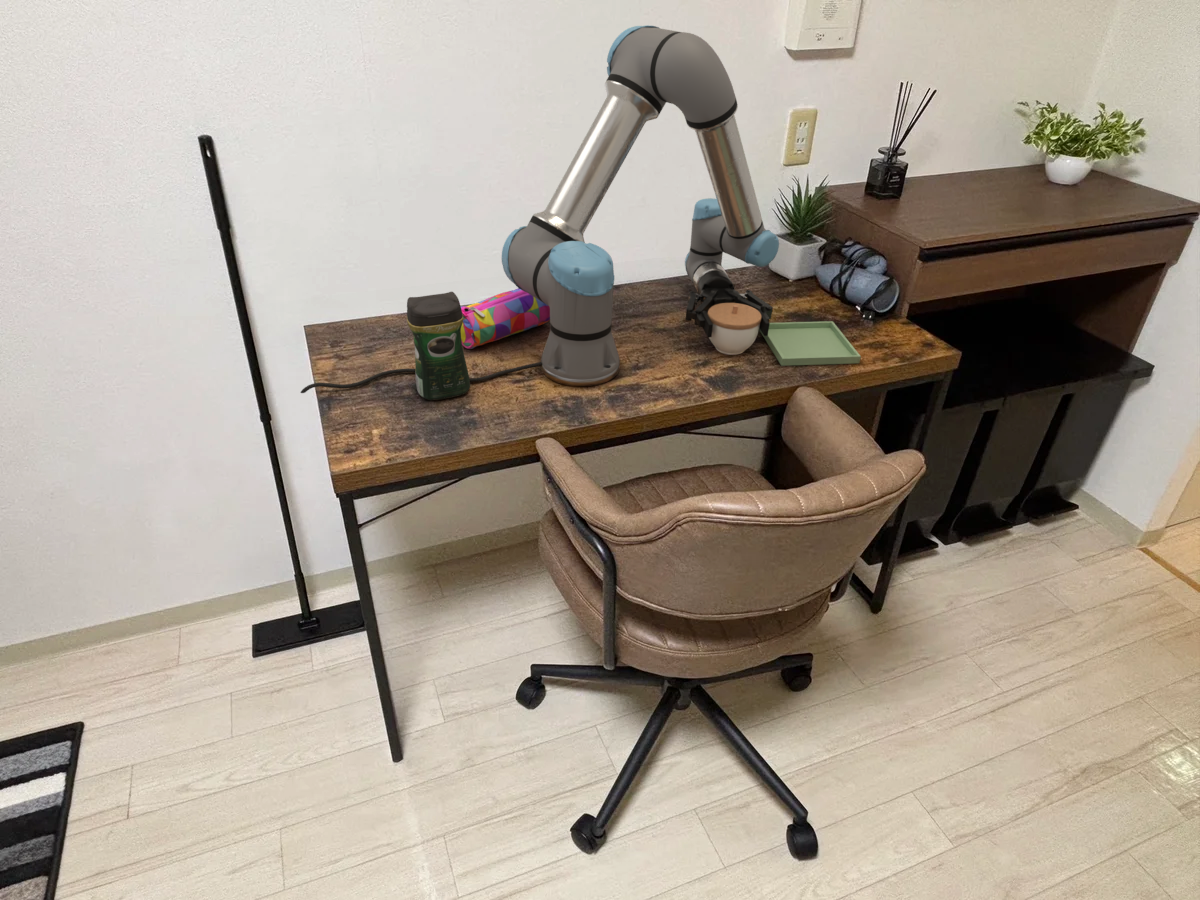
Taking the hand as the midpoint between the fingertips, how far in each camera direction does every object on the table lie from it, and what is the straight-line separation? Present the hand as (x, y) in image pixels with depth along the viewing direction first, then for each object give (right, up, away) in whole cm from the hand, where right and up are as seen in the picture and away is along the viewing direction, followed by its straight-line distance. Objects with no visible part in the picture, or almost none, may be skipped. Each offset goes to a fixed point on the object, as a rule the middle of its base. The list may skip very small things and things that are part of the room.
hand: (738, 330), depth 152 cm
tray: (+16, -2, +8) cm, 18 cm away
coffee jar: (-56, -13, -10) cm, 59 cm away
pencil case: (-48, 0, +9) cm, 49 cm away
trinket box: (-1, -3, +7) cm, 7 cm away
